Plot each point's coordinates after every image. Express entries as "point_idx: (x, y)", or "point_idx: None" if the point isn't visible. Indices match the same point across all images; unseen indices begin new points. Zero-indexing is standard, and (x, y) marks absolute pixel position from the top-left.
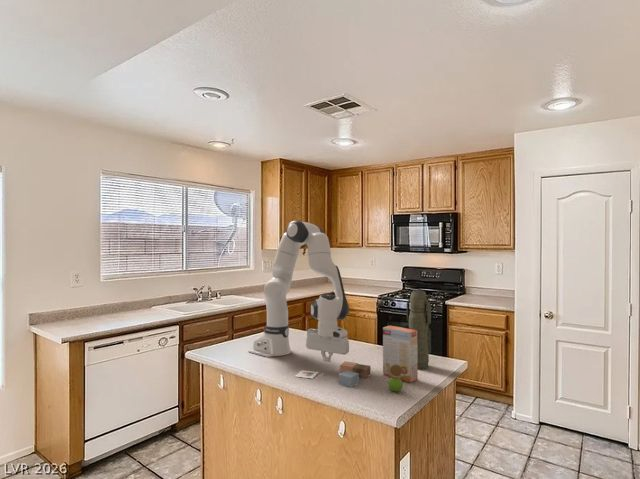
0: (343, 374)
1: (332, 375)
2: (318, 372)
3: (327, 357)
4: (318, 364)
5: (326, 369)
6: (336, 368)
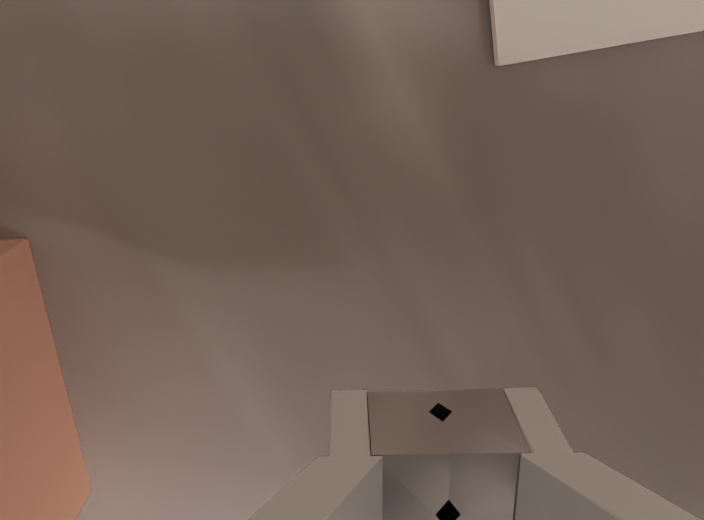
0: None
1: (118, 65)
2: (497, 59)
3: (417, 498)
4: (694, 515)
5: (428, 348)
6: (274, 482)
